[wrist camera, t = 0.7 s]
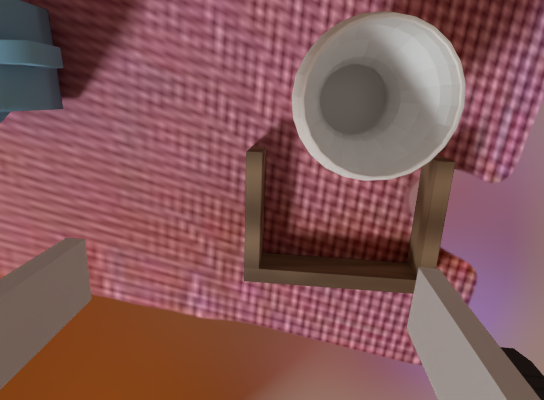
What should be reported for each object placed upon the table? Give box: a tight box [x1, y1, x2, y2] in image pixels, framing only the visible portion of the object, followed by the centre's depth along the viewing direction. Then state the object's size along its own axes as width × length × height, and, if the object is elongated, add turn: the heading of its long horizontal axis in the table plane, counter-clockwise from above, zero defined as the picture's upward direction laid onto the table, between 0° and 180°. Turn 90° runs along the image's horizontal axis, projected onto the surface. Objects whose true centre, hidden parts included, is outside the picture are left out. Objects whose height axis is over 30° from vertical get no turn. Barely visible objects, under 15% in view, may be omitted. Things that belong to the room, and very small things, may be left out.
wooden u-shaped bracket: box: [244, 146, 455, 294], centre depth 37 cm, size 14×19×4 cm
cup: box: [292, 11, 466, 180], centre depth 28 cm, size 11×11×15 cm
